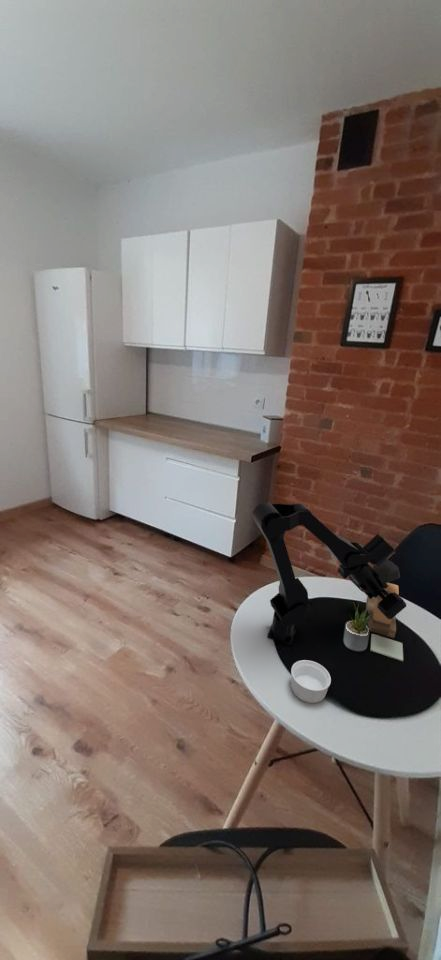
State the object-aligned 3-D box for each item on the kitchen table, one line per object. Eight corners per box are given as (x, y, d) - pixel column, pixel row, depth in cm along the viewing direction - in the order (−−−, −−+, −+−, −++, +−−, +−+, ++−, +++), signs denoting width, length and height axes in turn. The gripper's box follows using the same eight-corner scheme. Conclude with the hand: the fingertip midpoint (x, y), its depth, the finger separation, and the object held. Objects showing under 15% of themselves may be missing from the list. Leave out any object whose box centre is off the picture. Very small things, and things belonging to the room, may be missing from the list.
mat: (402, 661, 100) (403, 660, 100) (370, 650, 103) (370, 649, 103) (401, 644, 107) (402, 643, 107) (371, 634, 109) (371, 633, 109)
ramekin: (286, 698, 86) (288, 683, 85) (290, 669, 94) (293, 655, 93) (326, 711, 84) (330, 695, 83) (328, 680, 92) (331, 666, 91)
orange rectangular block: (387, 633, 111) (398, 594, 107) (370, 627, 112) (380, 588, 108) (387, 623, 115) (398, 585, 111) (370, 618, 117) (380, 580, 112)
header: (394, 638, 109) (396, 631, 108) (364, 629, 111) (366, 621, 111) (393, 607, 123) (394, 600, 122) (366, 599, 126) (368, 592, 125)
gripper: (409, 574, 97) (434, 608, 103) (365, 539, 114) (389, 570, 120) (374, 603, 97) (401, 635, 103) (336, 563, 114) (361, 593, 121)
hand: (388, 606), depth 112 cm, fingers closed on orange rectangular block, 7 cm apart
